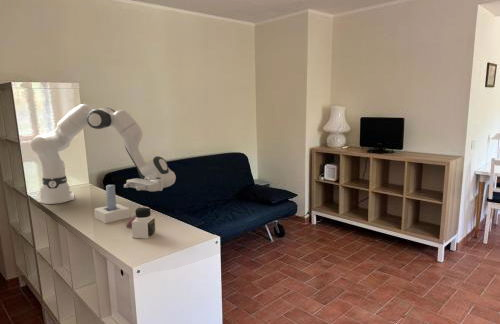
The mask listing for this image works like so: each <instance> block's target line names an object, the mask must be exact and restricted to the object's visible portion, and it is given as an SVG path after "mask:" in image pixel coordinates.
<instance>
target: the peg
mask: <svg viewBox="0 0 500 324" xmlns="http://www.w3.org/2000/svg"><path fill="white" fill-rule="evenodd" d="M105 192H106V206H107V211H112V210H116V204H117V203H116V202H117V199H116V196H117V195H116V184H107V185H106V186H105Z"/></svg>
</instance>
